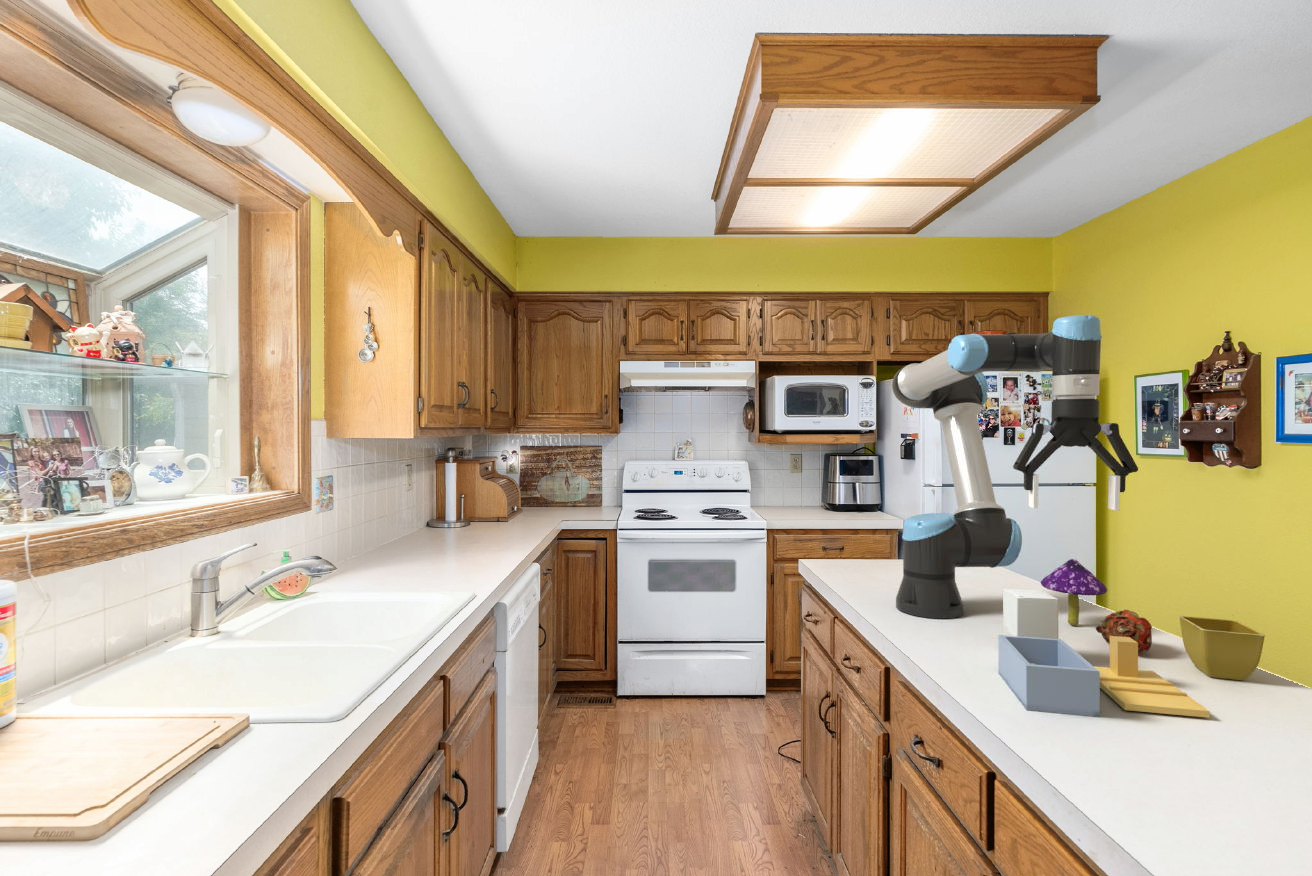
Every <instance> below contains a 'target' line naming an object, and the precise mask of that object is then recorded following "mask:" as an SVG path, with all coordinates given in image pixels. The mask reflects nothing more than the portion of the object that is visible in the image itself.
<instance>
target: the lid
mask: <svg viewBox="0 0 1312 876" xmlns="http://www.w3.org/2000/svg"><path fill="white" fill-rule="evenodd" d="M1093 666H1094V665H1093ZM1094 667H1095V668H1096V669H1097V670H1099V671H1100V689H1101V690H1102V691H1103V692H1104V693H1105V694H1106V695H1108V696H1109V697H1110V698H1111V699H1112V700H1113V701H1114V702H1115V703H1117V704H1118V705H1119V706H1120V707H1121V708H1122V709H1123V710H1124V711H1132V712H1143V713H1145V712H1146V713H1155V714H1166V715H1175V716H1177V715H1178V716H1186V717H1197V718H1198V717H1199V718H1207V719H1209V718H1210V710H1209V709H1208V708H1206V707H1204V706H1203V705H1202V704H1200V703H1199V702H1198V701H1196V700H1195V699H1193V698H1192V697H1190V696H1189V695H1188V694H1187V693H1186V692H1184V691H1182V690H1180V689H1179V687H1176V686H1175V685H1174V684H1173V683H1172V682H1169V681H1168V680H1167V679H1165V678H1164V677H1162V676H1161V675H1160V674H1158V673H1156V672H1155V671H1153V670H1145V669H1139V650H1138V643H1137V642H1136V641H1134V640H1133V639H1131V638H1130V637H1119V636H1110V645H1109V667H1105V666H1094Z"/></svg>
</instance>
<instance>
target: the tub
mask: <svg viewBox="0 0 1312 876" xmlns="http://www.w3.org/2000/svg"><path fill="white" fill-rule="evenodd" d="M997 647H998V675H999V676H1000V678H1002V680H1003V681H1004V682H1005V684H1006V685H1007V687H1008V688H1009V689H1010V690H1011V692H1012V693H1013V694H1014V696H1015V698H1017V700H1018V701H1019V702H1020V704H1021V705H1022V706H1023V708H1025V710H1026V711H1033V712H1044V713H1054V714H1055V713H1056V714H1064V715H1065V714H1066V715H1075V716H1085V717H1098V718H1100V717H1101V715H1100V713H1101V711H1100V708H1101V706H1100V705H1101V703H1100V700H1101V699H1100V697H1101V696H1100V694H1101V693H1100V691H1101V690H1100V689H1101V688H1100V671H1099V670H1097V669H1096V668H1095V667H1096V666H1095V667H1094V665H1092V664H1091V663H1090V662H1089V661H1088V660H1086V658H1084V657H1083V656H1082V654H1080V653H1078V652H1077V651H1076V650H1075V649H1074V648H1072V647H1071V646H1070V645H1069V644H1068V643H1066V642H1065V640H1063V639H1061V638H1059V639H1052V638H1037V637H1022V636H1007V635H1004V634H998V646H997Z"/></svg>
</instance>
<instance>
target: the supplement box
mask: <svg viewBox="0 0 1312 876" xmlns="http://www.w3.org/2000/svg"><path fill="white" fill-rule="evenodd" d="M1002 590H1003V591H1002V601H1003V602H1002V608H1003V609H1002V614H1003V617H1002V618H1003V620H1002V621H1003V623H1002V624H1003V625H1002V626H1003V631H1002V632H1003V634H1002V635H1007V636H1022V637H1037V638H1052V639H1060V638H1059V598H1057V597H1055V596H1053V595H1051V594H1049V593H1048V592H1046V591H1045V590H1043V589H1026V588H1025V589H1023V588H1022V589H1021V588H1003V589H1002Z"/></svg>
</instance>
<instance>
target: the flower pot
mask: <svg viewBox="0 0 1312 876" xmlns="http://www.w3.org/2000/svg"><path fill="white" fill-rule="evenodd" d="M1179 623H1180V631H1181V637H1182V643H1183V647H1184V649H1185V652H1186V654H1187V655H1188V658H1189V659H1190V661H1191V662H1192V664H1193V665H1194V667H1195V668H1196V669H1198V670H1199V671H1201V672H1202V673H1204V675H1206V676H1208V677H1210V678H1216V679H1217V678H1219V679H1226V680H1227V679H1228V680H1233V681H1234V680H1235V681H1245V680H1247V679H1248V678H1249V677H1250V676H1251V675H1252V674H1254V672H1255V671H1256V669H1257V668H1258V666H1259V664H1260V660H1261V657H1262V651H1263V648H1264V647H1263V646H1264V641H1265V637H1266V635H1265V634H1263V632H1260V631H1258V630H1256V629H1254V628H1252V627H1250V626H1248V625H1246V624H1244V623H1242V622H1240V621H1238V620H1234V619H1222V618H1212V617H1199V616H1198V617H1197V616H1189V615H1188V616H1186V615H1179Z"/></svg>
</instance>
